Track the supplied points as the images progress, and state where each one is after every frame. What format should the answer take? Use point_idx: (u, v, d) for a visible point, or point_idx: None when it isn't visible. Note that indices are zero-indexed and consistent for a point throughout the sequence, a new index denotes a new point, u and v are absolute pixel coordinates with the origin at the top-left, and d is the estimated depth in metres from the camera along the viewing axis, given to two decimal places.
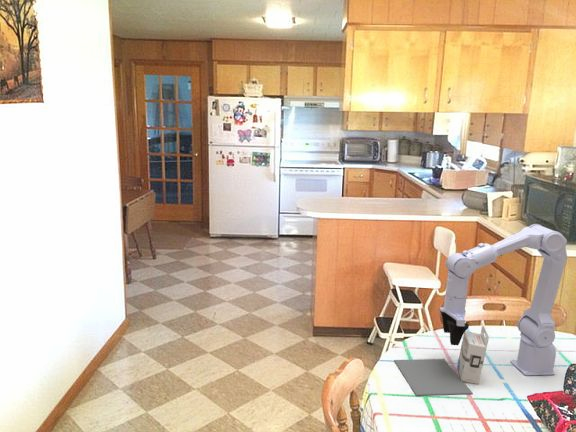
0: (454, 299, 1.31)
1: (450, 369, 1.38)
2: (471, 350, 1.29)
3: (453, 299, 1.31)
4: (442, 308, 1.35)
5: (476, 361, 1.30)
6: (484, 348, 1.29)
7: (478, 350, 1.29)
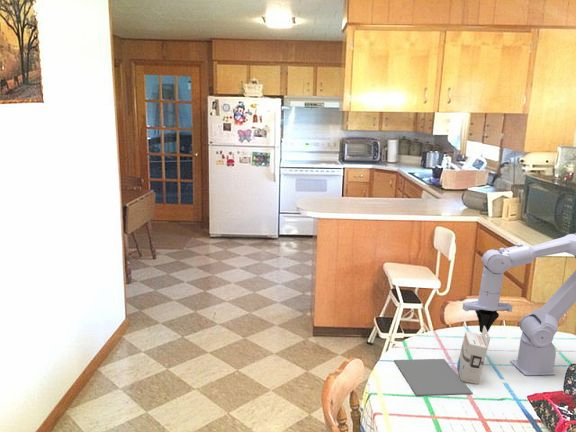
0: None
1: (450, 369, 1.38)
2: (472, 351, 1.29)
3: None
4: None
5: (476, 362, 1.30)
6: (485, 349, 1.28)
7: (479, 350, 1.29)
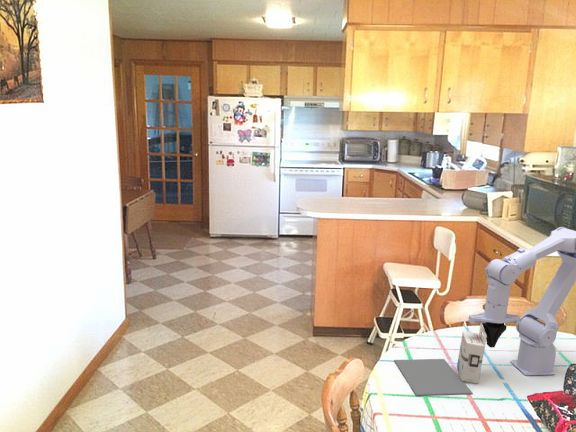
0: (486, 301, 1.32)
1: (450, 369, 1.38)
2: (469, 350, 1.30)
3: None
4: None
5: (475, 361, 1.30)
6: (482, 347, 1.29)
7: (476, 349, 1.29)
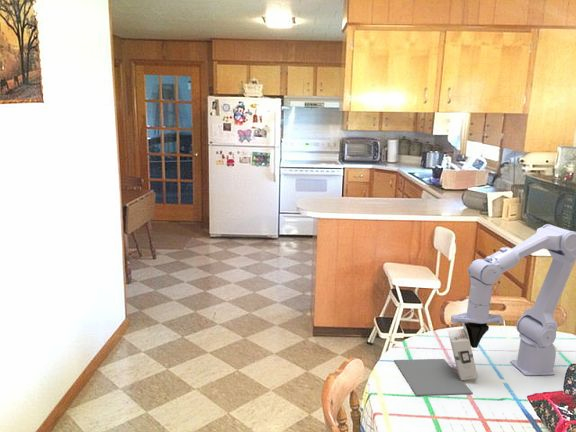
0: (468, 301, 1.31)
1: (450, 369, 1.38)
2: (457, 348, 1.31)
3: (468, 301, 1.32)
4: None
5: (466, 357, 1.31)
6: (467, 341, 1.30)
7: (463, 345, 1.30)
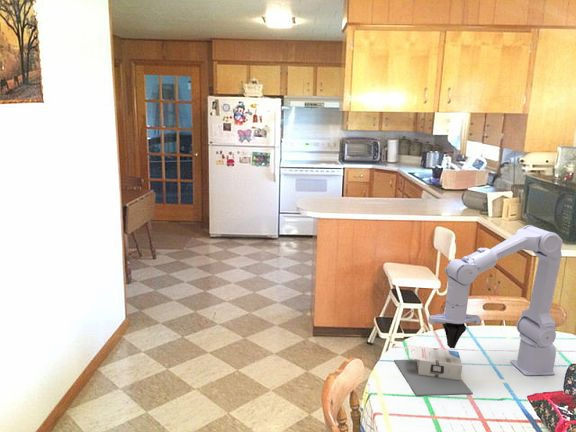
0: None
1: None
2: (425, 372, 1.33)
3: None
4: None
5: (437, 368, 1.32)
6: (421, 362, 1.33)
7: (424, 366, 1.33)
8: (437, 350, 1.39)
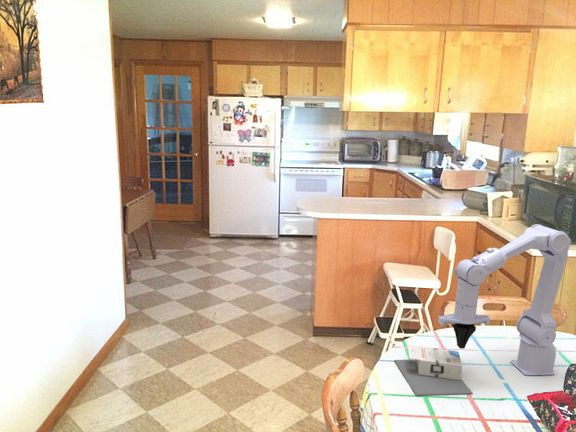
0: (455, 302, 1.31)
1: None
2: (425, 372, 1.33)
3: (455, 302, 1.31)
4: None
5: (437, 368, 1.32)
6: (421, 362, 1.33)
7: (424, 366, 1.33)
8: (437, 350, 1.39)
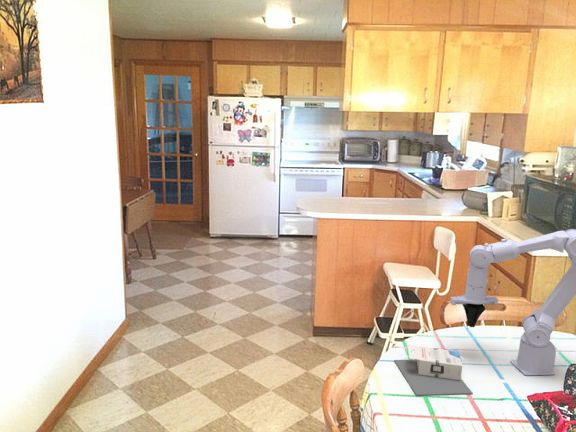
0: (466, 284, 1.42)
1: None
2: (425, 372, 1.33)
3: (466, 284, 1.43)
4: None
5: (437, 368, 1.32)
6: (421, 362, 1.33)
7: (424, 366, 1.33)
8: (437, 350, 1.39)
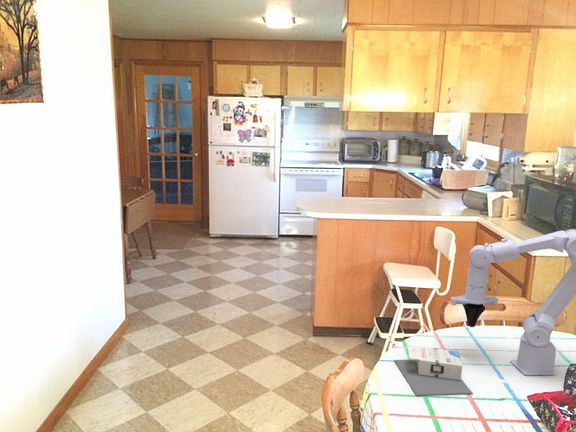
0: (466, 284, 1.42)
1: None
2: (425, 372, 1.33)
3: (466, 284, 1.43)
4: None
5: (437, 368, 1.32)
6: (421, 362, 1.33)
7: (424, 366, 1.33)
8: (437, 350, 1.39)
